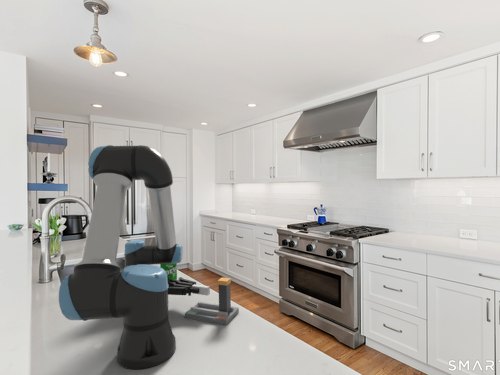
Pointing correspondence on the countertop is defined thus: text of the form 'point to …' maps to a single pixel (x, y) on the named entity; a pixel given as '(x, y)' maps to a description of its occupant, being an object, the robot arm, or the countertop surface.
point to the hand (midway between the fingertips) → (208, 290)
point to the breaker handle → (224, 294)
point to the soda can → (170, 270)
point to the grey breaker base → (211, 313)
